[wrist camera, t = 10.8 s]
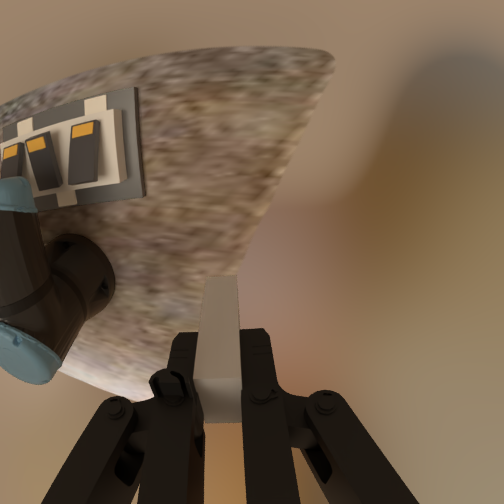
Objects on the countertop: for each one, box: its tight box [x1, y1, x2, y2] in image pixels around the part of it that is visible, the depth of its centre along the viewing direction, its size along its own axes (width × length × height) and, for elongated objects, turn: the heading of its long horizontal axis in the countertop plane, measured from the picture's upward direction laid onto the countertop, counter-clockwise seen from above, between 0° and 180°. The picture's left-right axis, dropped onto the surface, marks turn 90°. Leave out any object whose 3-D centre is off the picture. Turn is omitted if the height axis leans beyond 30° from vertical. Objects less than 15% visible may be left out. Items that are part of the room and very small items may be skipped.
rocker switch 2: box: [25, 131, 63, 191], centre depth 30 cm, size 4×8×1 cm, turn 2°
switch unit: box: [0, 87, 146, 212], centre depth 34 cm, size 26×16×5 cm, turn 92°
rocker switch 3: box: [68, 119, 100, 186], centre depth 31 cm, size 4×8×1 cm, turn 2°
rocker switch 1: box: [1, 142, 24, 179], centre depth 30 cm, size 4×8×1 cm, turn 2°
